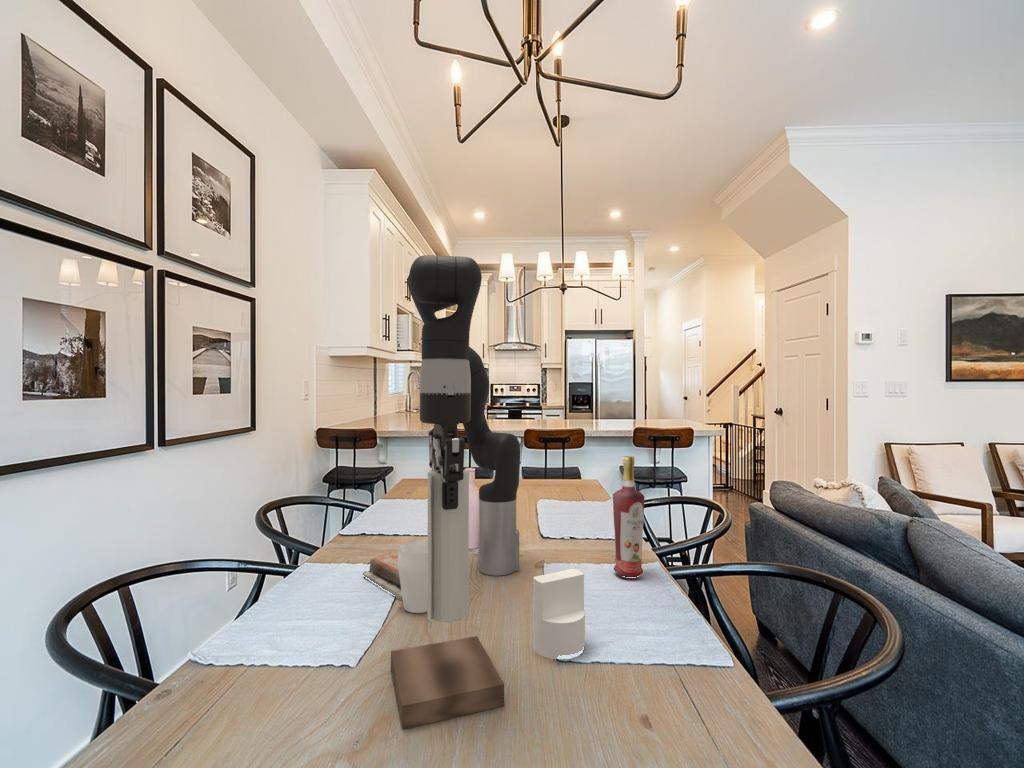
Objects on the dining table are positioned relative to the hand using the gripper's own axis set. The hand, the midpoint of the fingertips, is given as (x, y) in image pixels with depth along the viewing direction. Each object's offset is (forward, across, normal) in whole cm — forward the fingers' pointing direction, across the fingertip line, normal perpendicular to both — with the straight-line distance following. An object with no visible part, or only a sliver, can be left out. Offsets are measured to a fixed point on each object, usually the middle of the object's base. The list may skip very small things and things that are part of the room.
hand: (445, 503), depth 73 cm
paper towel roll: (+17, 0, 0) cm, 17 cm away
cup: (+27, -28, +1) cm, 39 cm away
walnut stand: (+27, 0, 0) cm, 27 cm away
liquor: (+27, -28, +50) cm, 63 cm away
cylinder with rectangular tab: (+27, -5, +21) cm, 35 cm away
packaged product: (+28, -41, -1) cm, 50 cm away
